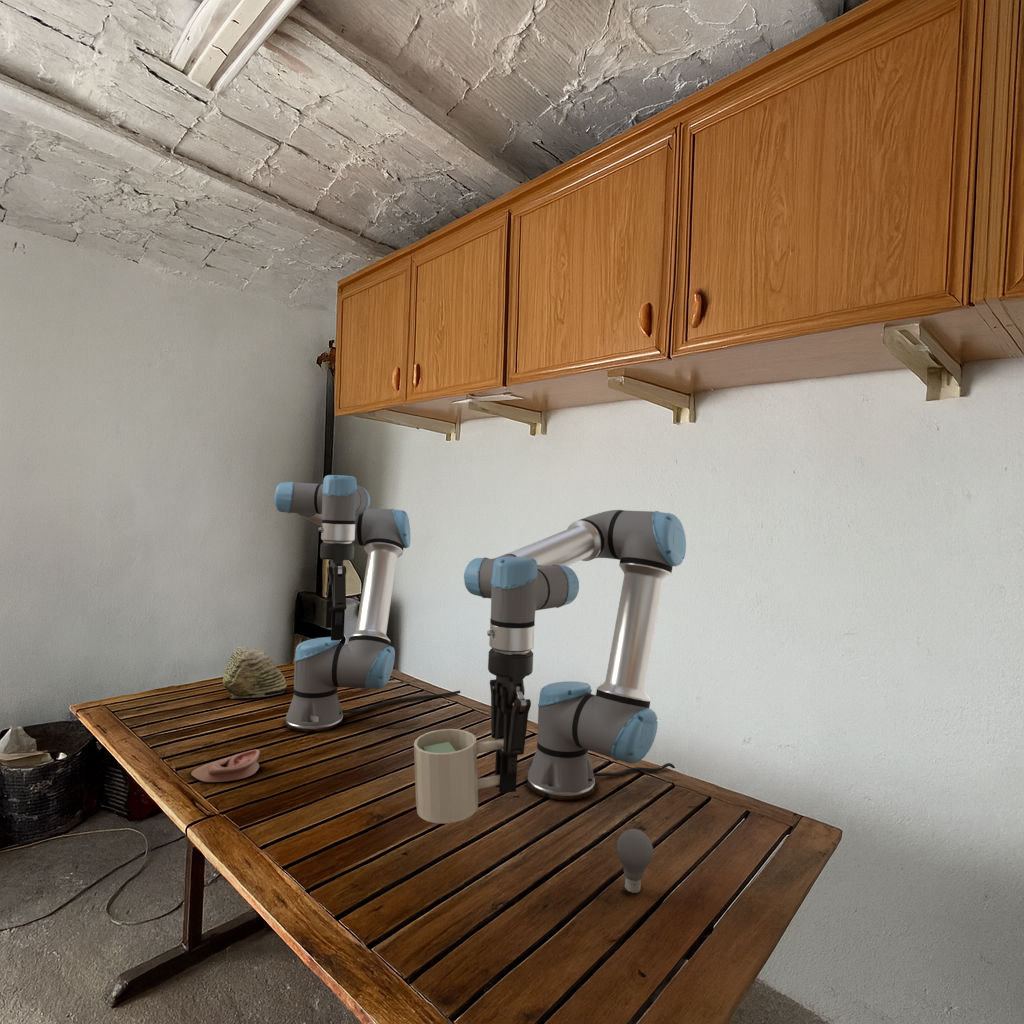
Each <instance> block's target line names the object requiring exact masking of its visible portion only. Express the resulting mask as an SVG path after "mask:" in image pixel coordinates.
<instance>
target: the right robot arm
mask: <svg viewBox="0 0 1024 1024" xmlns="http://www.w3.org/2000/svg"><path fill="white" fill-rule="evenodd" d="M686 537H687V536H686V533H685V529H684V526H683V523H682V521H681V519H680V518H679V517H678V516H677V515H675V514H674V513H671V512H663V511H659V510H655V511H654V510H653V511H652V510H651V511H648V510H627V509H626V510H624V509H612V510H605V511H600V512H598V513H594V514H591V515H588V516H586V517H583V518H580V519H578V520H575V521H573V522H571V524H569V525H568V527H567V529H565V530H562V531H560V532H557V533H555V534H552V535H550V536H547V537H545V538H542V539H540V540H537V541H534V542H533V543H530V544H527V545H525V546H522V547H519V548H518V549H515V550H513V551H510V552H507V553H505V554H502V555H500V556H497V557H494V558H489V557H485V556H484V557H475V558H473V559H471V561H469V562H468V563H467V565H466V567H465V570H464V573H463V579H464V580H463V582H464V586H465V588H466V590H467V592H469V594H471V595H474V596H478V597H481V598H482V599H490V600H491V601H490V618H489V622H490V623H489V630H487V632H486V634H487V636H488V637H489V642H488V643H489V644H488V645H489V647H490V649H489V651H488V657H487V659H488V660H487V670H488V673H490V674H492V675H493V676H495V679H490V680H489V688H490V689H489V690H490V714H491V715H490V723H491V724H490V728H491V729H490V731H491V734H490V736H491V738H492V739H494V740H497V739H503V738H504V741H503V751H502V749H499V750H495V764H494V765H495V766H494V776H495V775H500V784H499V785H498V786H494V787H495V788H498V792H499V794H500V795H502V794H509V793H515V792H517V778H518V777H517V775H518V756H521V755H524V753H525V746H526V737H527V729H528V721H529V713H530V709H531V706H532V701H531V699H530V698H527V699H526V698H525V692H526V691H525V684H524V679H525V678H526V677H528V676H530V675H532V673H533V670H534V652H533V651H532V650H534V648H535V634H536V633H535V632H536V624H535V623H536V620H535V619H536V611H542V610H548V609H554V608H556V609H559V608H561V607H564V606H567V605H569V604H571V603H573V602H574V600H575V599H576V598H577V597H578V594H579V592H580V581H579V577H578V576H577V574H576V572H575V570H574V569H572V568H571V567H570V566H572V565H573V564H576V563H578V562H580V561H582V562H591V561H593V560H594V559H595V560H596V559H609V560H618V561H619V564H618V566H619V568H620V569H621V571H622V572H623V580H622V586H621V591H620V597H619V603H618V608H617V614H616V619H615V625H614V630H613V636H612V642H611V648H610V653H609V659H608V664H607V670H606V675H605V680H604V682H603V683H601V684H600V685H598V686H597V687H596V691H595V694H593V693H592V691H593V689H592V686H591V685H590V684H589V683H587V682H584V681H575V680H574V681H571V680H570V681H569V680H567V681H566V680H565V681H557V682H552V683H548V684H546V685H544V686H543V687H542V688H541V689H540V691H539V698H538V703H537V707H538V710H537V711H538V712H537V736H536V737H537V739H536V751H535V753H534V757H533V759H531V760H528V761H527V764H526V767H527V768H529V770H528V772H527V781H526V782H527V787H528V788H529V789H530V790H531V791H532V792H533V793H535V794H536V795H539V796H541V797H544V798H547V799H550V800H557V801H578V800H580V799H581V800H582V799H585V798H587V797H589V796H590V795H592V794H593V793H594V791H595V785H596V779H595V777H620V776H622V775H623V776H624V775H626V774H627V773H630V772H635V771H638V772H639V771H640V772H660V771H662V770H664V769H666V768H668V767H670V768H672V769H676V767H675V765H674V764H673V763H671V762H666V763H664V764H663V765H661V766H659V767H640V766H639V767H638V766H637V767H635V766H634V767H629V768H626V769H623V770H621V771H618V772H594V771H593V767H592V764H591V760H590V756H589V752H593V753H595V754H599V755H602V756H605V757H608V758H611V759H613V760H614V761H616V762H617V761H620V762H622V763H628V764H636V763H639V762H640V761H642V760H643V759H644V758H645V757H646V756H647V755H648V753H649V752H650V750H651V748H652V746H653V744H654V741H655V739H656V736H657V731H658V724H659V723H658V722H659V721H658V715H657V713H656V712H655V710H653V709H652V708H650V707H651V701H652V699H651V698H650V696H649V695H648V693H647V691H646V687H647V680H648V675H649V668H650V661H651V657H652V650H653V644H654V639H655V632H656V627H657V619H658V614H659V607H660V601H661V597H662V596H661V595H662V589H663V584H664V581H665V580H667V579H668V578H670V577H671V576H672V573H673V567H677V566H680V565H681V564H682V563H683V562H684V560H685V557H686V551H687V539H686ZM660 767H662V768H660Z"/></svg>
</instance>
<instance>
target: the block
mask: <svg viewBox="0 0 1024 1024" xmlns="http://www.w3.org/2000/svg"><path fill="white" fill-rule="evenodd" d="M423 750H424V751H428V752H433V753H449V752H455V749H454V748H453V747H452V745H451V744H450V743H449V742H446V743H441V744H435V745H430V746H424V747H423Z"/></svg>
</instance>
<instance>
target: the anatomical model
mask: <svg viewBox="0 0 1024 1024" xmlns="http://www.w3.org/2000/svg"><path fill="white" fill-rule="evenodd" d="M260 754H261V752H260V749H257V748H256V749H251V750H247V751H243V752H240V753H236V754H234V755H231V756H228V757H225V758H222V759H219V760H216V761H211V762H209V763H206V764H204V765H201V766H198V767H197V768H195V769H193V770H192V771H191V773H190V775H191V776H192V777H193V778H194V779H196V780H198V781H201V782H203V783H221V782H230V781H231V782H233V781H237V780H241V779H246V778H248V777H250V776H253V775H254V774H256V772H257V771H258V770H259V768H260V764H259V762H258V759H259V757H260Z"/></svg>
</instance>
